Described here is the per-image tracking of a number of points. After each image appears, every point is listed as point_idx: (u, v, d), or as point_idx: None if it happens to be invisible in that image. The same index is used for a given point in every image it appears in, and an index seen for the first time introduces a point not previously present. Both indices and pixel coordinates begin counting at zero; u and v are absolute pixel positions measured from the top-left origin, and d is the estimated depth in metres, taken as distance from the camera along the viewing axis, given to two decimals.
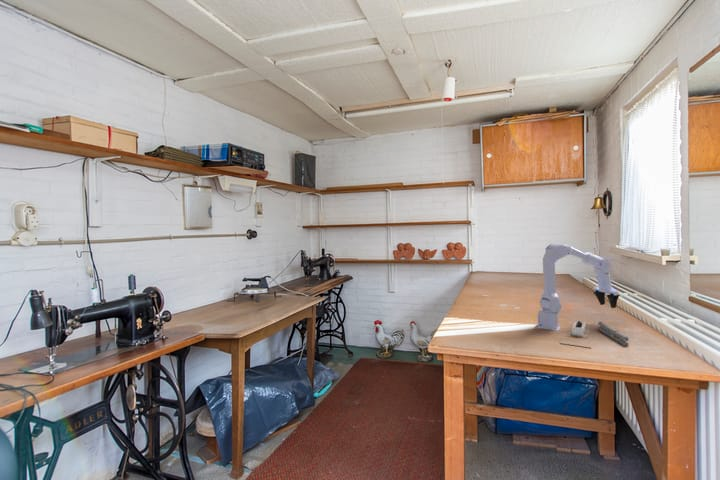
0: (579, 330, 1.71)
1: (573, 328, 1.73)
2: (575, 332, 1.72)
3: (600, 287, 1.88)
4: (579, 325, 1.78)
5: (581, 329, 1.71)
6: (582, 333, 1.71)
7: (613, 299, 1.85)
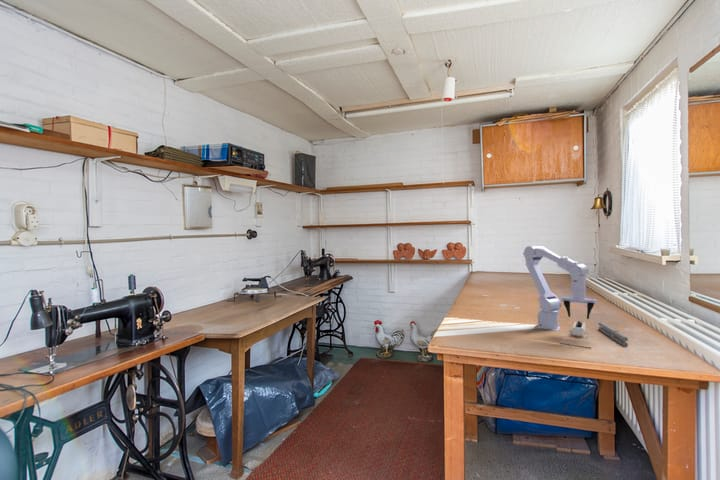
0: (579, 330, 1.71)
1: (573, 328, 1.73)
2: (575, 332, 1.72)
3: None
4: (579, 325, 1.78)
5: (581, 329, 1.71)
6: (582, 333, 1.71)
7: None
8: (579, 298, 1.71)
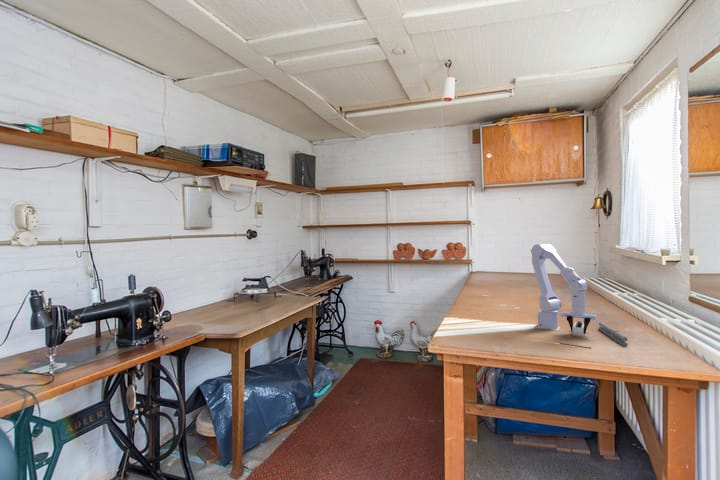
0: (579, 330, 1.71)
1: (573, 328, 1.73)
2: (575, 332, 1.72)
3: None
4: (579, 325, 1.78)
5: (581, 329, 1.71)
6: (582, 333, 1.71)
7: None
8: (579, 313, 1.71)
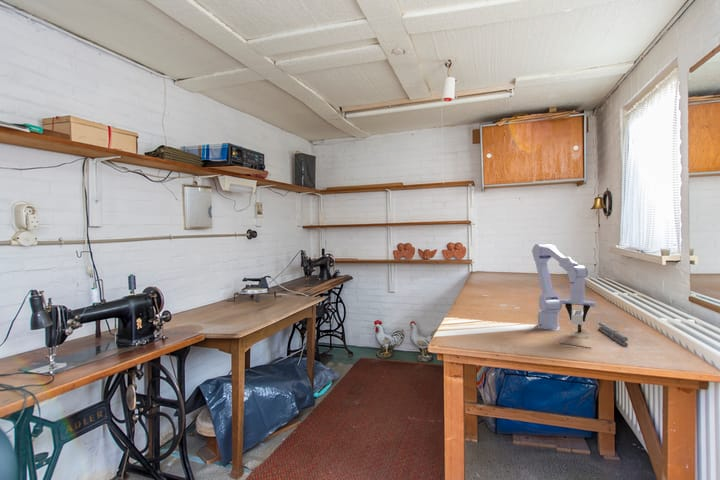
0: (578, 318, 1.66)
1: (572, 316, 1.67)
2: (574, 320, 1.67)
3: None
4: (579, 325, 1.78)
5: (580, 316, 1.65)
6: (581, 321, 1.65)
7: None
8: (578, 300, 1.66)
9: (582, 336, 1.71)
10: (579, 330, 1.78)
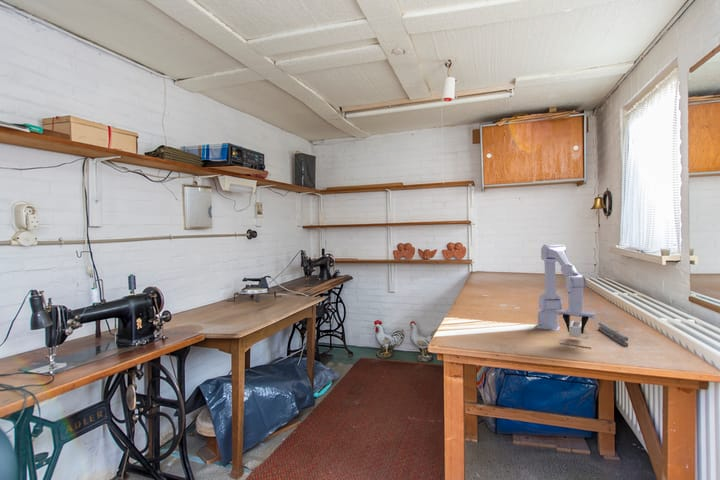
0: (576, 329, 1.59)
1: (570, 327, 1.60)
2: (572, 331, 1.60)
3: None
4: None
5: (578, 328, 1.58)
6: (579, 333, 1.58)
7: None
8: (576, 312, 1.59)
9: (582, 336, 1.71)
10: None
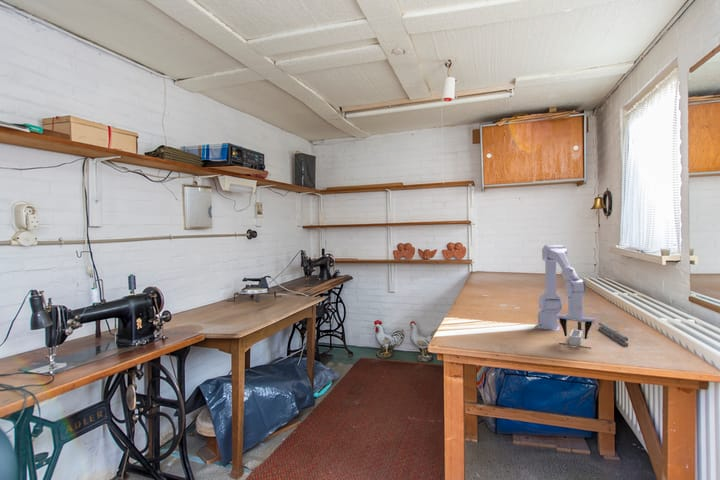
0: (576, 339, 1.59)
1: (569, 337, 1.60)
2: (572, 341, 1.60)
3: None
4: (579, 325, 1.78)
5: (578, 338, 1.59)
6: (579, 342, 1.58)
7: None
8: (576, 316, 1.59)
9: None
10: None
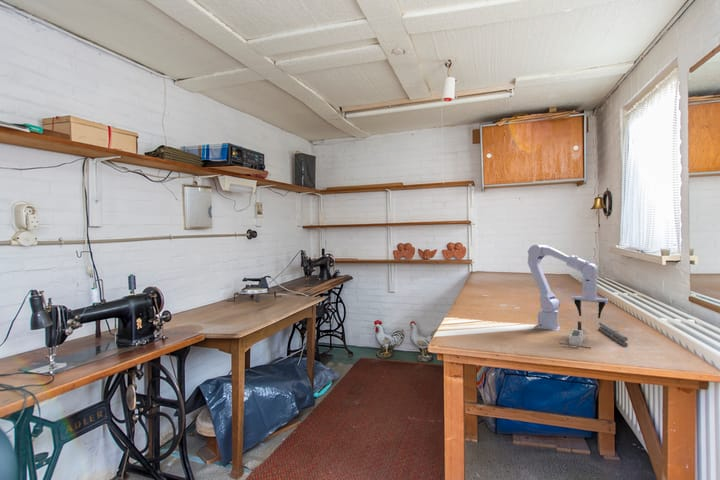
0: (576, 339, 1.59)
1: (569, 337, 1.60)
2: (572, 341, 1.60)
3: None
4: (579, 325, 1.78)
5: (578, 338, 1.59)
6: (579, 342, 1.58)
7: None
8: (590, 297, 1.70)
9: None
10: None
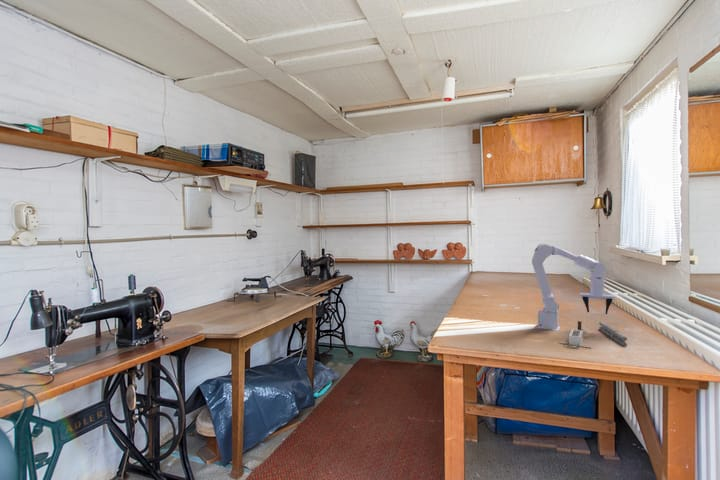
0: (576, 339, 1.59)
1: (569, 337, 1.60)
2: (572, 341, 1.60)
3: None
4: (579, 325, 1.78)
5: (578, 338, 1.59)
6: (579, 342, 1.58)
7: None
8: (598, 294, 1.77)
9: None
10: None
